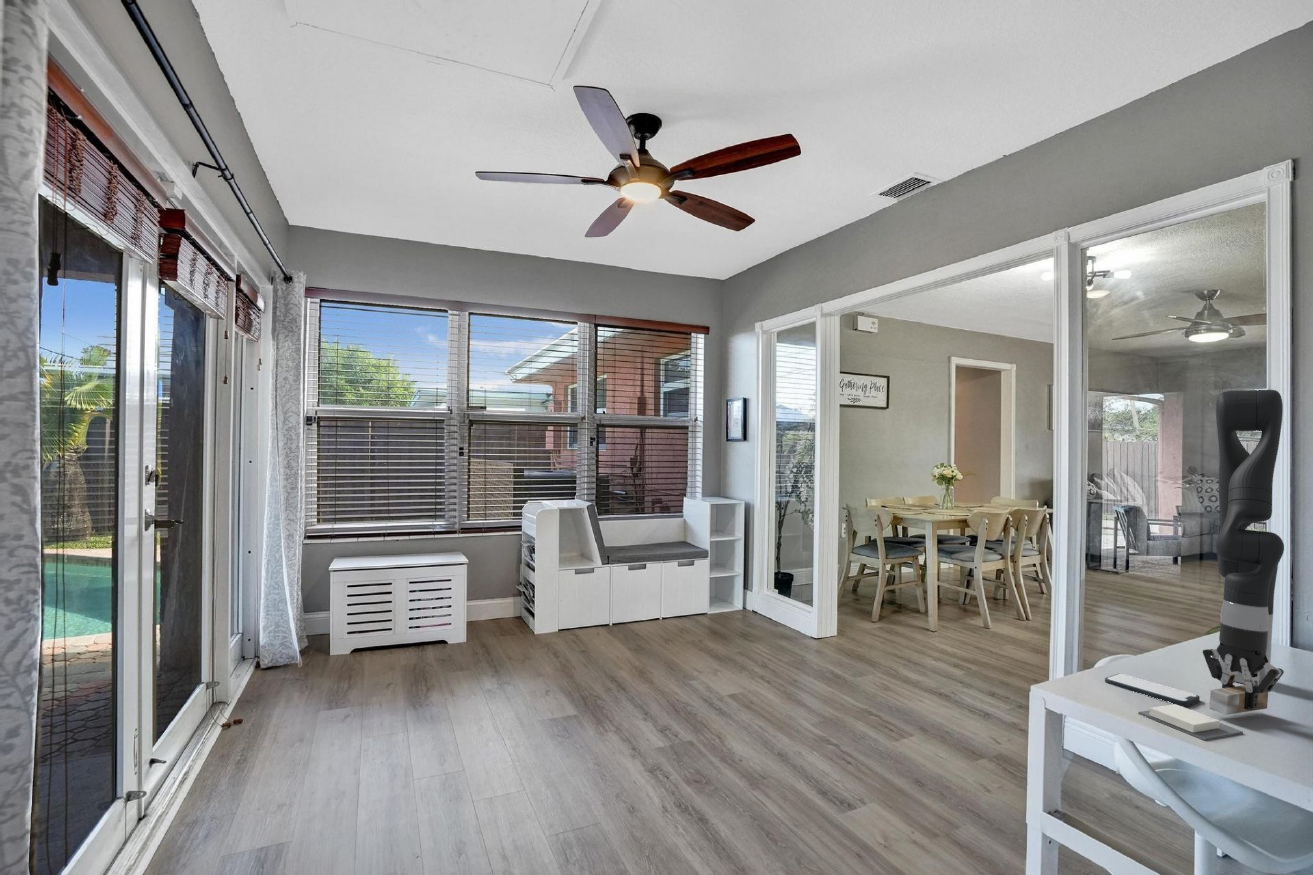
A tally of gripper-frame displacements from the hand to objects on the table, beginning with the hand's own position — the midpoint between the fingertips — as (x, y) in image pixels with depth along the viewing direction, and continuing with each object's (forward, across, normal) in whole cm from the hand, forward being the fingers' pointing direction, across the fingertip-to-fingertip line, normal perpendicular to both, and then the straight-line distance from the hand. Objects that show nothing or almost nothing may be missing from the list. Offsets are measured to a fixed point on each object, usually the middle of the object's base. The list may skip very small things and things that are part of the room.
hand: (1238, 705), depth 138 cm
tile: (+1, 0, +14) cm, 14 cm away
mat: (+2, 0, +16) cm, 16 cm away
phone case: (+3, +14, +5) cm, 15 cm away
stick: (+1, 0, 0) cm, 1 cm away
